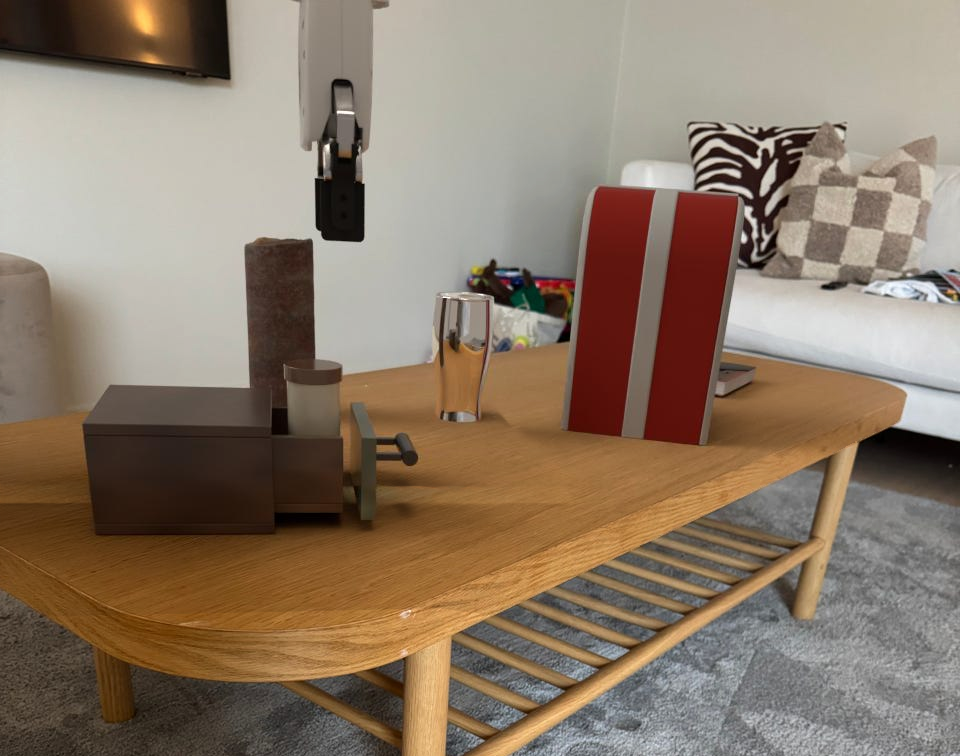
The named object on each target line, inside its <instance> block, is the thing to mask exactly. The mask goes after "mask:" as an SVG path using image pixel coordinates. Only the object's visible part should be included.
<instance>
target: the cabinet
mask: <svg viewBox="0 0 960 756" xmlns="http://www.w3.org/2000/svg"><path fill="white" fill-rule="evenodd" d="M81 426H82V427H81V428H82V434H83V437H82V438H83V444H84V445H83V446H84V452H85V461H86V468H87V477H88V487H89V495H90V503H91V510H92V511H91V512H92V519H93V526H94V527H93V528H94V535H100V536H102V535H108V536H111V535H245V534H246V535H247V534H248V535H249V534H250V535H253V534H254V535H255V534H257V535H258V534H259V535H260V534H261V535H264V534H265V535H266V534H267V535H269V534H270V535H271V534H272V535H273V534H275V533H276V515H275V514H276V513H274V487H273V456H272V389H271V388H250V387H227V386H226V387H225V386H187V385H186V386H185V385H142V384H141V385H139V384H138V385H137V384H133V385H132V384H109V385H108V386H107V388H106V389H105V390H104V392H103V393H102V395H101V396H100V398H99V399H98V401H97V402H96V403H95V405H94V406H93V407H92V409H91V410H90V412H89V414H87V416H86V417H85V418H84V420H83V421H82V423H81Z"/></svg>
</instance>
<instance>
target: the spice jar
mask: <svg viewBox="0 0 960 756" xmlns="http://www.w3.org/2000/svg"><path fill="white" fill-rule="evenodd" d="M343 369H344V368H343V364H342V363H340V362H338V361H333V360H330V359H329V360H328V359H317V358H316V359H297V360H290V361H287V362H285V363H284V378H285V380H287V413H288V435H320V436H341V382H343V379H344V378H343V376H344V375H343V374H344V373H343V372H344V371H343Z"/></svg>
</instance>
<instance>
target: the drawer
mask: <svg viewBox="0 0 960 756" xmlns="http://www.w3.org/2000/svg"><path fill="white" fill-rule="evenodd" d="M349 405H350V407H349V410H350V411H349V417H350V418H349V421H350V422H349V470H350V474H351V479H352V483H353V485H352V488H353V493H354V498H355V501H356V506H357V509H358V513H359V517H360V518H359V519H360V520H361V521H376V505H377V503H376V501H377V500H376V499H377V496H376V494H377V462H379V461H380V462H402V464H403V465H405V466H406V467H413V466H415V465H417V463H418V461H419V455H418V452H417V450H416V448H415V447H414V444H413V442H412V440H411V438H410V436H409V435H408V433H406V432H398V433H397V434H396V435H395V436H392V437H391V436H376V433H375V430H374V427H373V424H372V423H371V419H370V417H369V414H368V411H367V409H366V406H365V403H364V402H363V401H362V402H359V401H356V402H355V401H351V402H350V403H349ZM377 446H395V448H396V449H397V452H395V451H390V452H387V451H386V452H385V451H384V452H383V451H382V452H381V451H377ZM272 456H273V487H274V513H275V514H308V513H309V514H323V513H324V514H326V513H327V514H337V513H338V514H342V513H344V436H343V435H340V436H320V435H288V413H287V406H274V405H272Z"/></svg>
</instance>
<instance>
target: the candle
mask: <svg viewBox="0 0 960 756" xmlns="http://www.w3.org/2000/svg"><path fill="white" fill-rule="evenodd" d="M243 248H244V250H243V251H244V252H243V253H244V254H243V255H244V273H245V275H244V276H245V298H246V301H245V302H246V318H247V319H246V323H247V325H246V326H247V347H248V349H247V351H248V377H249V378H248V381H249V388H271V389H272V405H274V406H287V380H285V378H284V363H285V362H287V361H290V360H297V359H317V357H316V328H315V327H316V320H315V319H316V317H315V277H314V276H315V263H314V240H313V239H312V238H304V239H301V238H299V239H297V238H282V239H281V238H277V237H265V236H261V237H257V238H256V239H255V240H254V241H252V242H249V243H245V245H244V247H243Z"/></svg>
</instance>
